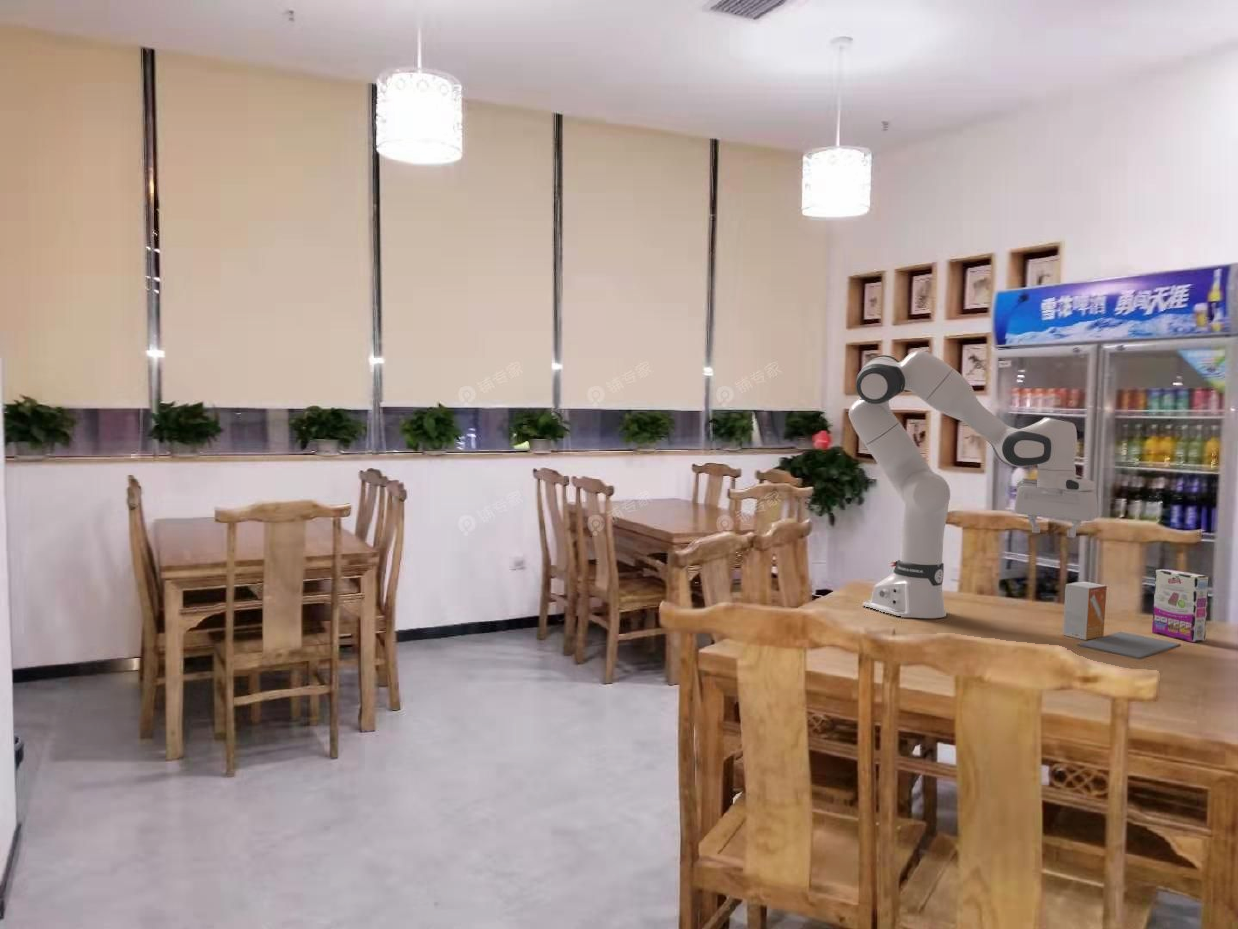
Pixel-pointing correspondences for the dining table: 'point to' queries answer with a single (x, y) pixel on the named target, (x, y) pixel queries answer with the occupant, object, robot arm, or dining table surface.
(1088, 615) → the small box
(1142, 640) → the mat
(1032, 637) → the dining table surface
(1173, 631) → the candy bar box
